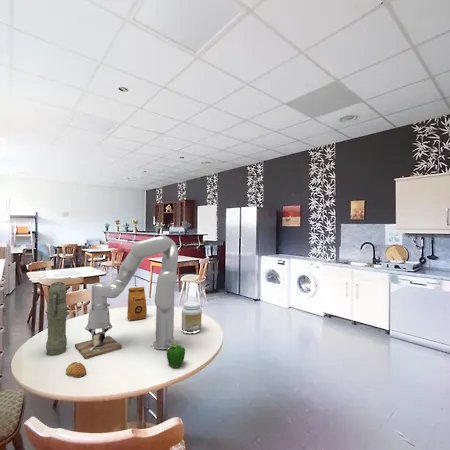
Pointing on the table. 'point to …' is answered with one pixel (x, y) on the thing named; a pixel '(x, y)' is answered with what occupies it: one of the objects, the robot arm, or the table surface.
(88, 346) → the wooden board
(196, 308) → the supplement tub
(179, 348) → the bell pepper
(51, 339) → the thermos
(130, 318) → the coffee package
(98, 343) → the knob
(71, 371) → the pastry
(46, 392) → the table surface
